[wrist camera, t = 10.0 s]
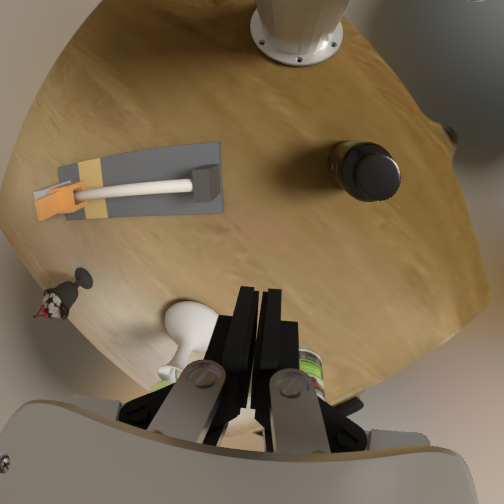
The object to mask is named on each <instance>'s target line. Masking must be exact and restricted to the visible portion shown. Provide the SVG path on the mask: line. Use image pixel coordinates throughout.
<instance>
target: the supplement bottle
mask: <svg viewBox="0 0 504 504" xmlns="http://www.w3.org/2000/svg"><path fill="white" fill-rule="evenodd" d="M328 168H329V172H330V174H331V176H332V178H333V180H334V181H335V182H336V183H337V184H338V185H339V186H340V187H342V188H343V189H344V190H345V191H346V192H347V193H348V194H349V195H350V196H352V197H353V198H355V199H357V200H359V201H363V202H374V201H378V200H379V201H382V200H386V199H389V198H390V197H392V196H393V195H394V194H395V193H396V191H397V190H398V188H399V186H400V182H401V181H400V179H401V176H400V171H399V168H398V165H397V164H396V163H395V161H394V160H393V158H392V156H391V155H390V154H389V152H388V151H387V150H386V149H385V148H383V147H382V146H380V145H378V144H375V143H372V142H364V141H345V142H342V143H340V144H338V145H337V146H336V147H335V148H334V149H333V150H332V152H331V154H330V156H329V160H328Z"/></svg>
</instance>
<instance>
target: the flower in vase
mask: <svg viewBox="0 0 504 504" xmlns="http://www.w3.org/2000/svg"><path fill="white" fill-rule="evenodd" d="M217 318H218V314H217V313H216V312H215V311H213V310H212V309H211V308H209V307H208V306H206V305H204V304H201V303H198V302H193V301H184V302H179V303H176V304H174V305H172V306H171V307H170V308H169V309H168V310H167V312H166V314H165V327H166V330H167V332H168V334H169V336H170V337H171V338H172V340H173V341H174V342H175V343H176V344H178V345H179V346H178V349H177V351H176V353H175V355H174V357H173V358H172V360H171V361H170V362H169V363H168V364H166V365H164V366H161V367H160V368H159V369H158V375H159V377H160V378H161V379H162V380H163V381H160V382H158V383H157V384H155V385H154V386H153V387H152V388H151V390H150V391H149V392H154V391H156V390H159V389H161V388H163V387H166V386H168V385H170V384H173V383H175V382H176V381H177V379H178V378H179V376H180V375H181V373H182V371H183V370H184V368H185V367H186V366H187V362H188V359H189V356H190V354H191V352H192V351H194V352H206V351H207V348H208V345H209V342H210V339H211V336H212V333H213V330H214V327H215V324H216V321H217Z"/></svg>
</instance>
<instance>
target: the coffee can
mask: <svg viewBox="0 0 504 504" xmlns="http://www.w3.org/2000/svg"><path fill="white" fill-rule="evenodd" d="M299 370H302V371H303V372H305V373H307V374H308V375H309V376H310V377H311V378H312V380H313V382H314V386H315V390H316V394H317V396H319V397H320V398H321V399H323V400H324V401H325V394H324V383H323V373H322V360H321V358H320V357H319V355H318V354H316V353H315V352H313V351H311V350H308V349H304V348H299Z"/></svg>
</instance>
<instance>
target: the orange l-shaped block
mask: <svg viewBox="0 0 504 504" xmlns="http://www.w3.org/2000/svg"><path fill="white" fill-rule="evenodd" d="M79 190H86V185H85V180H84V181H78V182H73V183H67V184H63V185H60V186H58V187H55V188H52V189H50V190H49V195H47V196H44V197H42V198H39V199H37V200H35V201H34V202H35V207H36V212H37V217H38V221H43V220H45V219H47V218H49V217H51V216H53V215H55V214H62V213H72V212H75V211H77V210H79V209H81V208H83V207H85V206H87V205H89V204H88V200H84V201H76V202H75V200H74V194H73V191H79Z"/></svg>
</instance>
